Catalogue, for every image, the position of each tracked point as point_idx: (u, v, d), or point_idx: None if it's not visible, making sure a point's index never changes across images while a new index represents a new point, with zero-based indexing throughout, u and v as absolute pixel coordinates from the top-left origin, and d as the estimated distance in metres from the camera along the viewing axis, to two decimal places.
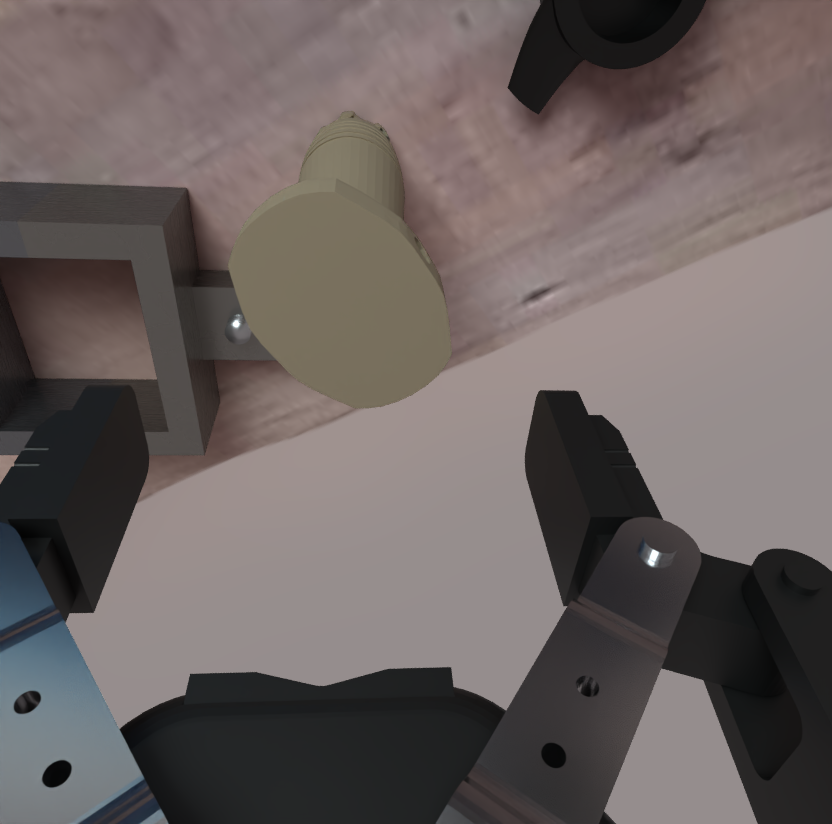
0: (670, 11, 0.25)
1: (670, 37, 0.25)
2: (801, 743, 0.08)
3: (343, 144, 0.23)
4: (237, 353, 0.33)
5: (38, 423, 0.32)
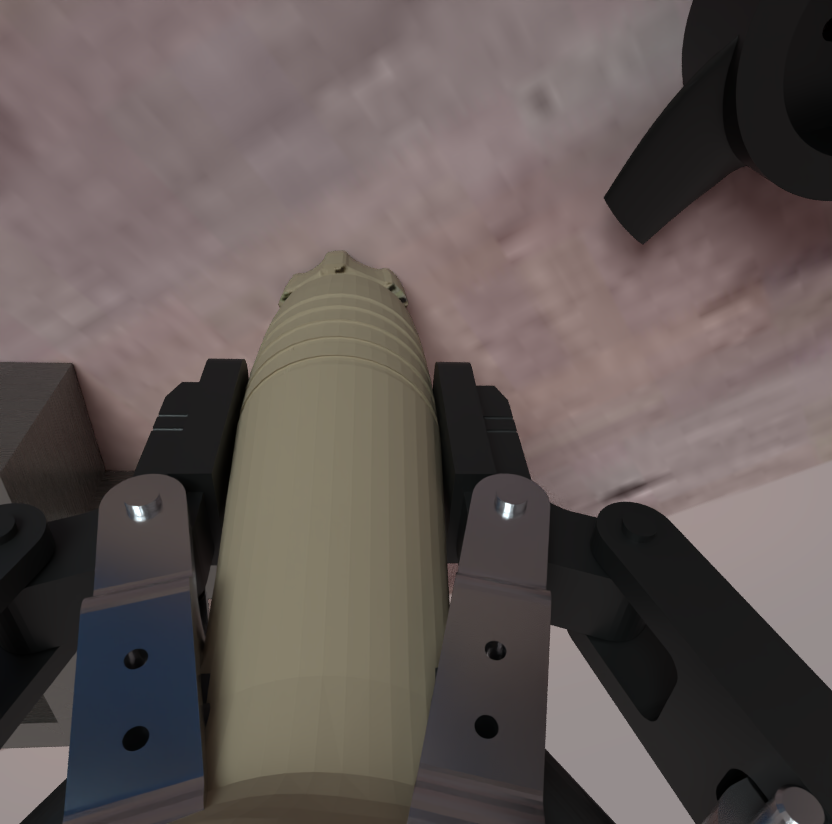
0: None
1: None
2: (678, 681, 0.09)
3: (320, 385, 0.11)
4: None
5: None
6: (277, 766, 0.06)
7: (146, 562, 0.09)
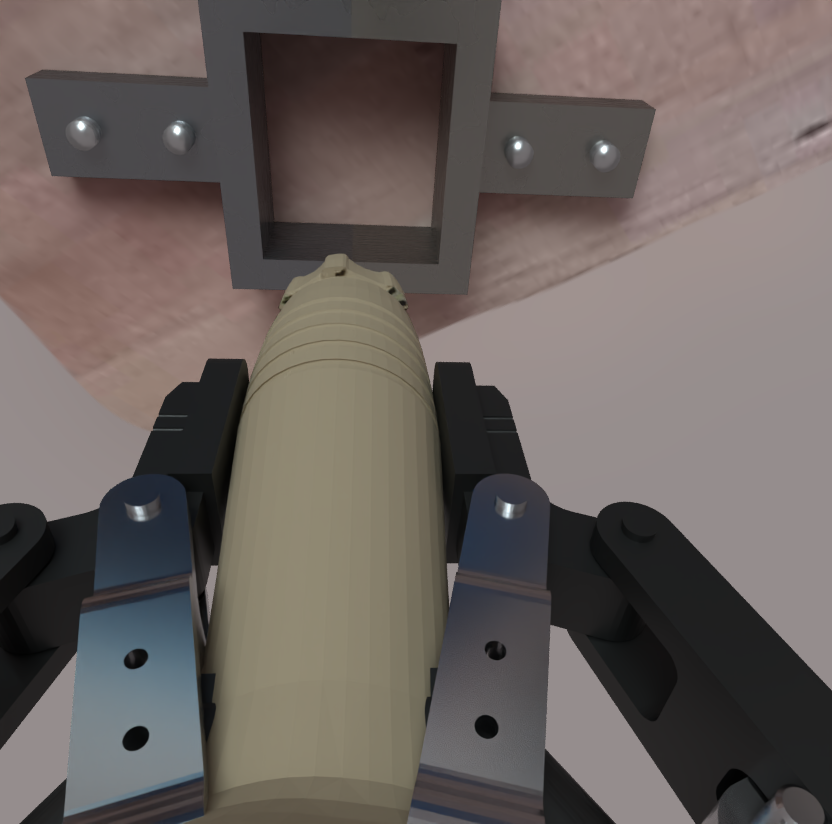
0: None
1: None
2: (678, 681, 0.09)
3: (321, 389, 0.11)
4: (505, 185, 0.31)
5: (300, 254, 0.30)
6: (278, 770, 0.06)
7: (146, 562, 0.09)
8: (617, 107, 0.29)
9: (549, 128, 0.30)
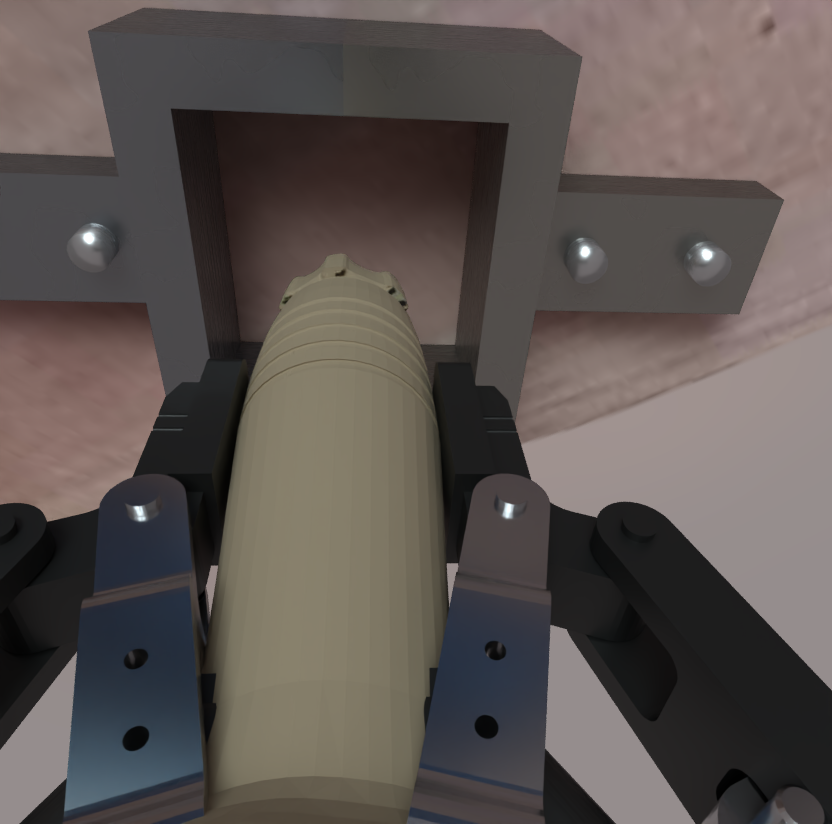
0: None
1: None
2: (678, 681, 0.09)
3: (320, 389, 0.11)
4: (563, 300, 0.22)
5: None
6: (279, 771, 0.06)
7: (146, 562, 0.09)
8: (729, 197, 0.20)
9: (630, 226, 0.21)
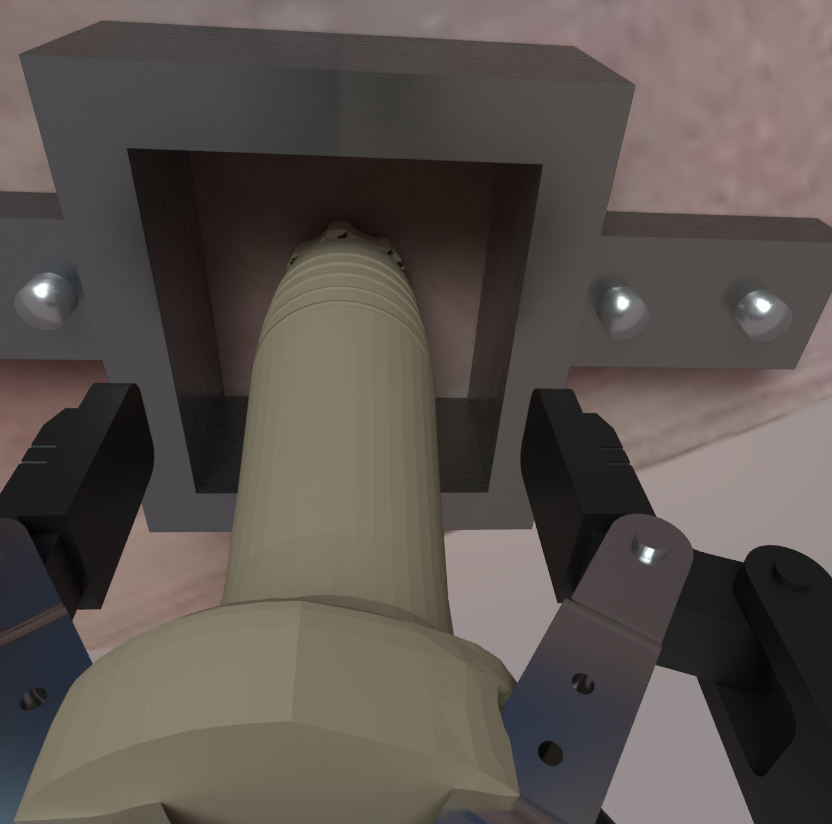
0: None
1: None
2: (795, 739, 0.08)
3: (328, 323, 0.13)
4: (594, 355, 0.19)
5: None
6: (301, 591, 0.08)
7: None
8: (791, 240, 0.17)
9: (675, 274, 0.18)
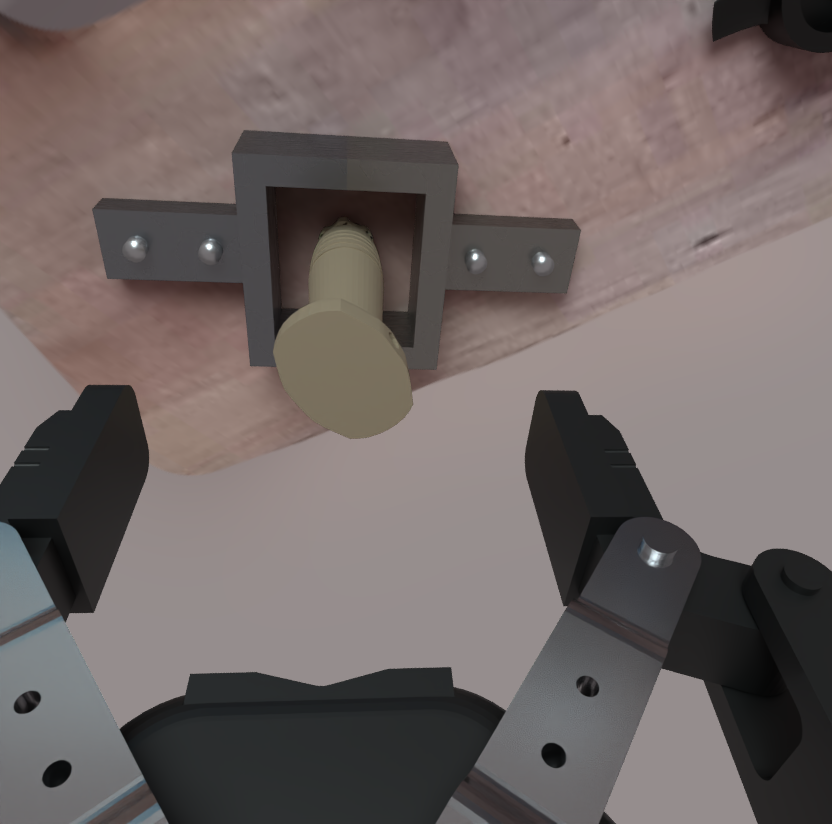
0: None
1: None
2: (801, 743, 0.08)
3: (341, 254, 0.33)
4: (466, 284, 0.39)
5: None
6: None
7: None
8: (551, 228, 0.38)
9: (499, 243, 0.38)
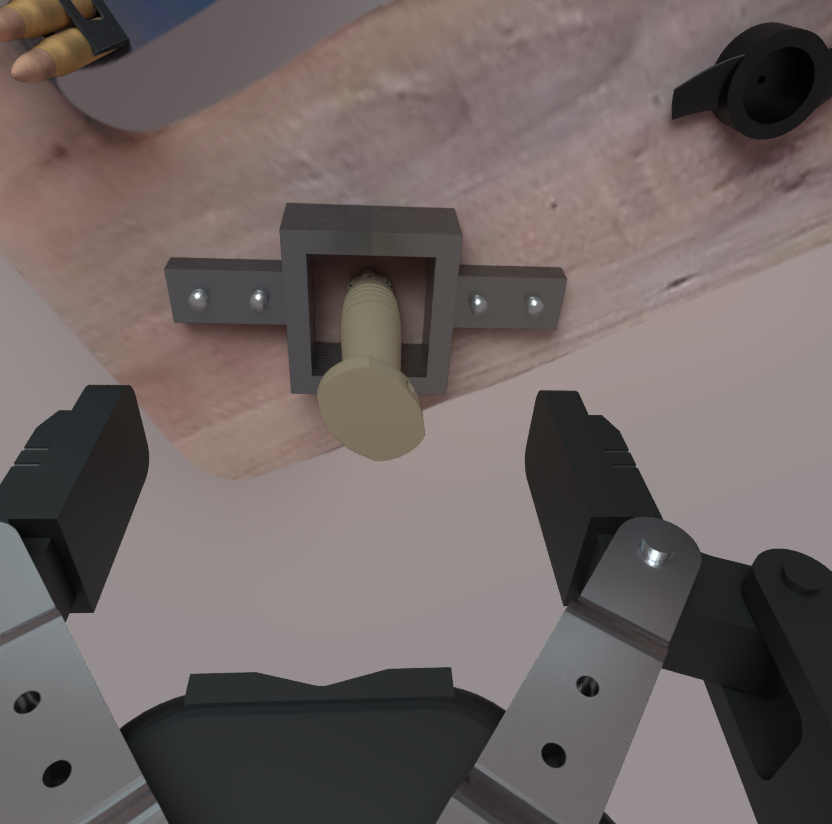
0: (775, 119, 0.39)
1: (767, 133, 0.39)
2: (801, 743, 0.08)
3: (367, 308, 0.40)
4: (471, 323, 0.47)
5: None
6: None
7: None
8: (542, 277, 0.45)
9: (498, 290, 0.45)
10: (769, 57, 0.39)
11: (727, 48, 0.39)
